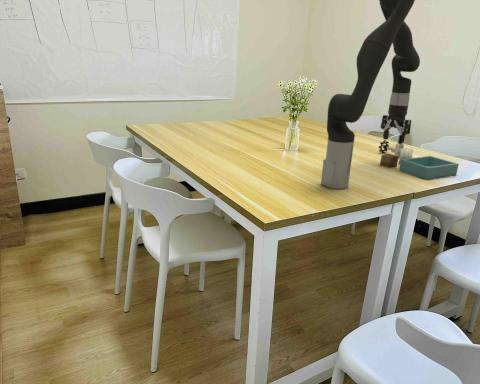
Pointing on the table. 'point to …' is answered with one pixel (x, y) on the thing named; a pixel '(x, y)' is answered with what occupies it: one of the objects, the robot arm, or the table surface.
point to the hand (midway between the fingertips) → (392, 141)
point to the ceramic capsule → (405, 153)
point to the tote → (428, 167)
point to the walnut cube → (389, 161)
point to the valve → (391, 148)
